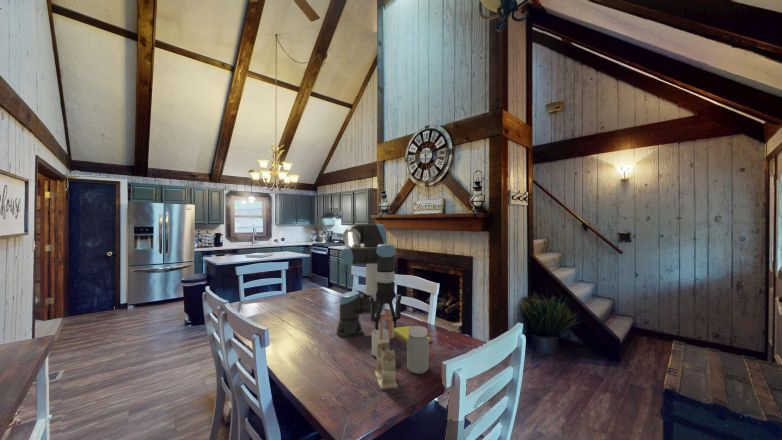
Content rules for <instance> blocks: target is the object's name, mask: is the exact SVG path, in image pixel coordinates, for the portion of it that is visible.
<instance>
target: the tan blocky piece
mask: <svg viewBox="0 0 782 440" xmlns="http://www.w3.org/2000/svg"><path fill="white" fill-rule="evenodd" d="M396 359H397V358H396V351H395V350H390V340H389V341H388V340H378V341H377V357H376V369H374V375H375V378H376V380H377V381H376V382H377V383H378V387H379V390H380V391H385V390H386V391H387V390H392V389H398V387H399V386H398V384H397V381H396V371H397V370H396V366H397V365H396V361H397V360H396Z"/></svg>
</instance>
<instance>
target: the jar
mask: <svg viewBox="0 0 782 440" xmlns="http://www.w3.org/2000/svg"><path fill="white" fill-rule="evenodd" d="M427 336H428V329H427V327H424V326H422V325H416V326H415V325H413V326H411V327H410V328H409V337H408V339H407V342H406V368H407V369H408V370H409V372H410V373H413V374H416V375H421V374H425V373H426V372H428V370H429V366H430V364H429V363H430V361H429V360H430V357H429V355H430V352H429V351H430V348H429V347H430V342H429V340H428V338H427Z"/></svg>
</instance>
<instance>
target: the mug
mask: <svg viewBox="0 0 782 440" xmlns="http://www.w3.org/2000/svg"><path fill="white" fill-rule="evenodd" d="M378 340H380V339H379V338H378V336H377V330H376V329H374V330H372V331H371V354H372V356H373V357H374V358H377V341H378ZM382 340H388V341H389V342H390V337H389V335H388V329H385V328H383V338H382Z"/></svg>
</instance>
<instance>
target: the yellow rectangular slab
mask: <svg viewBox="0 0 782 440" xmlns="http://www.w3.org/2000/svg"><path fill="white" fill-rule="evenodd" d="M410 327H412V326H410V325H407V326H398V327H397V326H396V328H394V335H395V336H397V337H399V338H400V339H402V340H403V341H405V342H406V343H407V339H408V337H409V328H410ZM427 338H428V340H429V343H432V341H433V339H432V338H431V337H429V336H428V335H427Z"/></svg>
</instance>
